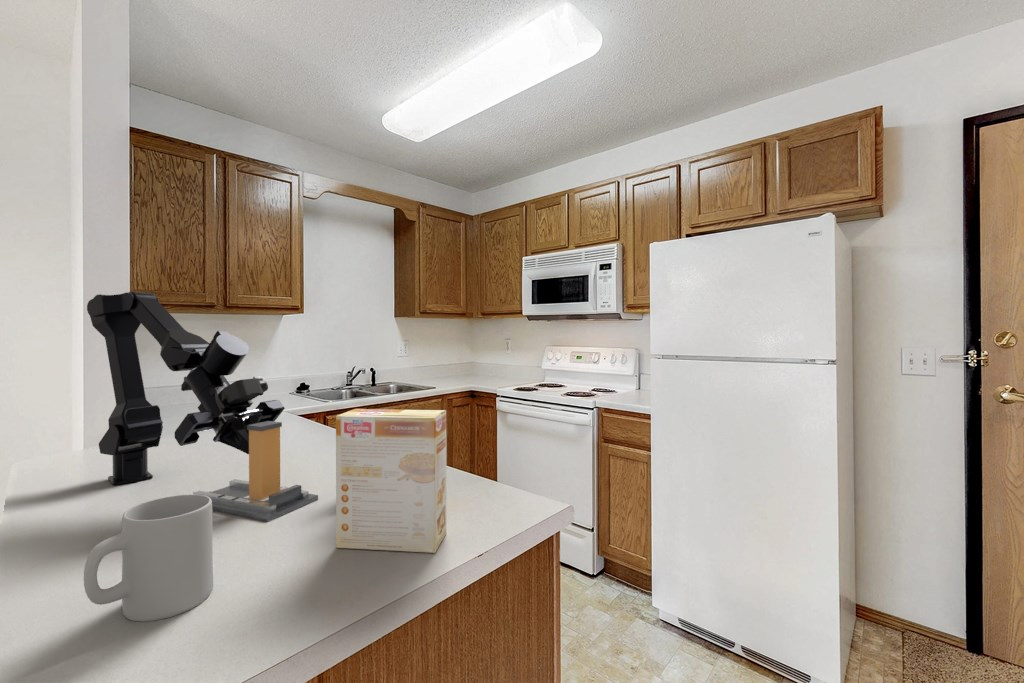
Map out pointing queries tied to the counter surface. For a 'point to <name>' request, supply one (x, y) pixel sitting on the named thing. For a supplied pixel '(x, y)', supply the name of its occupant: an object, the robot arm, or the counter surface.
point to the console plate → (278, 503)
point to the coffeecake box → (391, 479)
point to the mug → (158, 558)
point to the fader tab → (264, 460)
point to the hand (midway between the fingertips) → (257, 455)
